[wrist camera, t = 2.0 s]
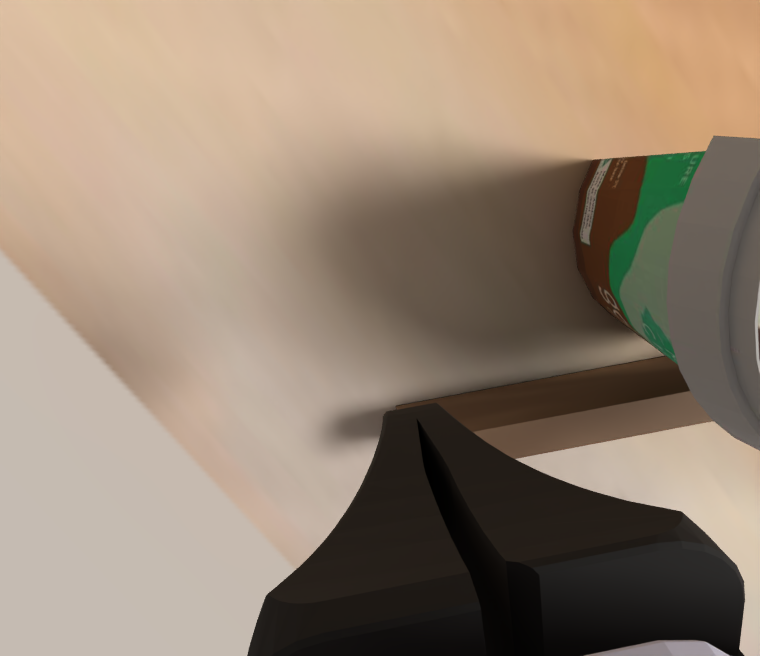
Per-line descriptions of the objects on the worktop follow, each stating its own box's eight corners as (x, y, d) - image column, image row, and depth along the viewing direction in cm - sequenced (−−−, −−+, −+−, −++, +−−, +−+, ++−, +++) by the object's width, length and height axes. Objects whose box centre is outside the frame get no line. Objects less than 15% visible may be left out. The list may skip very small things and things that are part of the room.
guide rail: (969, 330, 23) (1059, 354, 20) (401, 436, 22) (411, 478, 19) (1026, 102, 20) (1143, 93, 17) (364, 215, 19) (370, 227, 16)
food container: (482, 293, 20) (615, 415, 11) (559, 142, 19) (794, 131, 9) (721, 394, 23) (996, 563, 13) (807, 269, 21) (1188, 362, 12)
